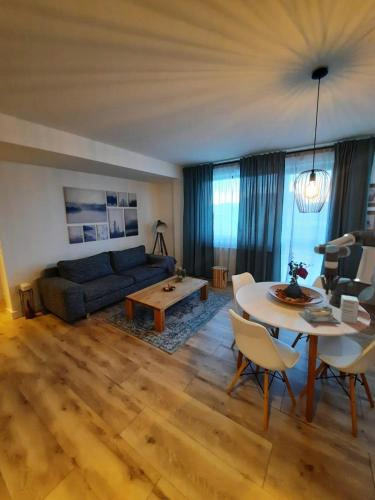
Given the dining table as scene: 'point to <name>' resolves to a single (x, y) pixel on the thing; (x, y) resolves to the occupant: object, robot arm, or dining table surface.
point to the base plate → (310, 317)
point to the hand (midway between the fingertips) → (328, 298)
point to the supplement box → (349, 309)
